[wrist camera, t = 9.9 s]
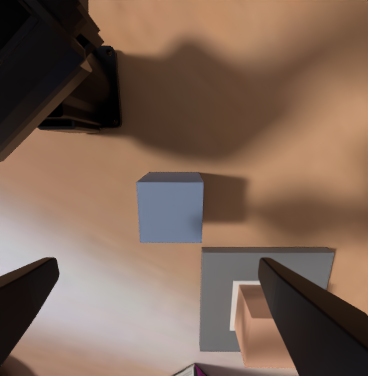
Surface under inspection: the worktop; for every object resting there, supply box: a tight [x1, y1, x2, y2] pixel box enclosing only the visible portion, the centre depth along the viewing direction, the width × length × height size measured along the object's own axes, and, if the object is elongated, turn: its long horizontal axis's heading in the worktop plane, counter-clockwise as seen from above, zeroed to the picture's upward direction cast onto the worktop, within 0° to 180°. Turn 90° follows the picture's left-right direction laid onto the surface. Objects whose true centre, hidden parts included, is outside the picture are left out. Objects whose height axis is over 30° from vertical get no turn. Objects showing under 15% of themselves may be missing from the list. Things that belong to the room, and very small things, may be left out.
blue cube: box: [136, 172, 204, 243], centre depth 16 cm, size 5×5×5 cm
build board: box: [199, 247, 334, 352], centre depth 21 cm, size 14×14×1 cm
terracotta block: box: [234, 284, 295, 368], centre depth 19 cm, size 6×6×4 cm
